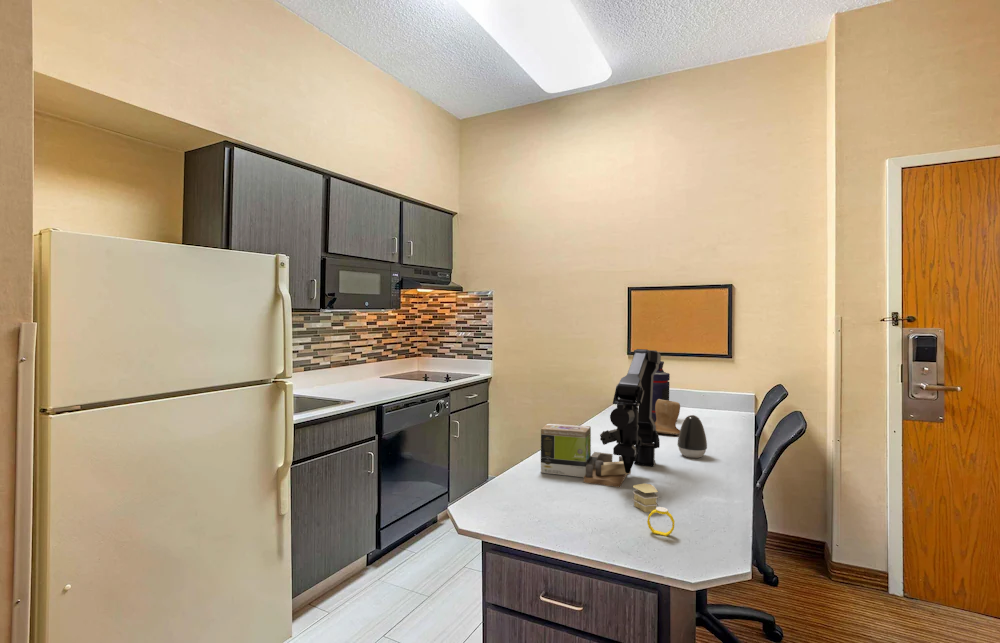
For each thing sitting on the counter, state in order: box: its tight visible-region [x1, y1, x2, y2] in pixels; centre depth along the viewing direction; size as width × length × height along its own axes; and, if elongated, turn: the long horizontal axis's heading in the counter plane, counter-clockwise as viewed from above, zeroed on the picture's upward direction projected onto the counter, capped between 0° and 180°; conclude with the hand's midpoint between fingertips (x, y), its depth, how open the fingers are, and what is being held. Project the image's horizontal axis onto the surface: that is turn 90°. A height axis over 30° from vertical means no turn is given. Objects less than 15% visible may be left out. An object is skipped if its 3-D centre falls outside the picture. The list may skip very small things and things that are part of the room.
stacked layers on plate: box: [632, 482, 659, 513], centre depth 135 cm, size 10×9×6 cm
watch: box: [646, 506, 676, 537], centre depth 118 cm, size 6×3×6 cm, turn 67°
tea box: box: [540, 423, 592, 478], centre depth 165 cm, size 15×10×15 cm
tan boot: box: [654, 399, 681, 435], centre depth 223 cm, size 15×12×15 cm
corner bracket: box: [590, 451, 614, 470], centre depth 165 cm, size 6×6×4 cm
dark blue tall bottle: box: [652, 360, 670, 423], centre depth 247 cm, size 14×12×30 cm
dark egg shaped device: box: [677, 414, 708, 459], centre depth 185 cm, size 10×10×15 cm
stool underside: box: [583, 455, 628, 488], centre depth 160 cm, size 11×17×5 cm, turn 158°
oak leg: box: [596, 460, 632, 476], centre depth 158 cm, size 11×3×4 cm, turn 104°
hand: (627, 472), depth 155 cm, fingers closed
